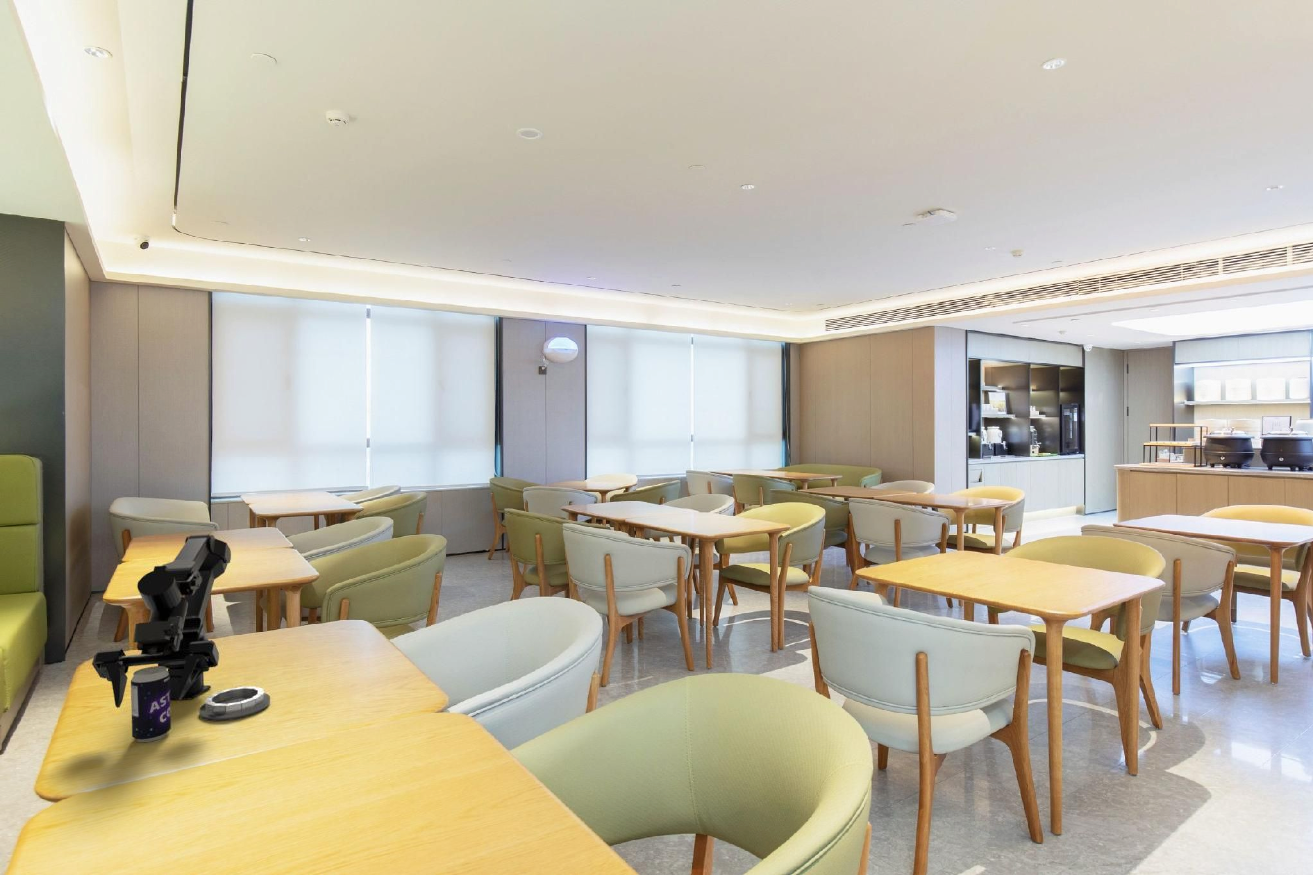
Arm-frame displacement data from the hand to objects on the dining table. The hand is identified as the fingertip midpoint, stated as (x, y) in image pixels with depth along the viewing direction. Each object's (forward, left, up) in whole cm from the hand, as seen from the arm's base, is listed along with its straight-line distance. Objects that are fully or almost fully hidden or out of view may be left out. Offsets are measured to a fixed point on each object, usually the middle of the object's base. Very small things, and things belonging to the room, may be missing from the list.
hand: (148, 703), depth 129 cm
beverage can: (-1, -1, -7) cm, 7 cm away
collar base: (-14, +6, -7) cm, 17 cm away
